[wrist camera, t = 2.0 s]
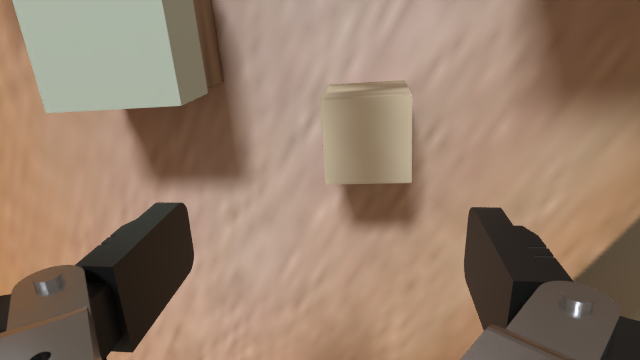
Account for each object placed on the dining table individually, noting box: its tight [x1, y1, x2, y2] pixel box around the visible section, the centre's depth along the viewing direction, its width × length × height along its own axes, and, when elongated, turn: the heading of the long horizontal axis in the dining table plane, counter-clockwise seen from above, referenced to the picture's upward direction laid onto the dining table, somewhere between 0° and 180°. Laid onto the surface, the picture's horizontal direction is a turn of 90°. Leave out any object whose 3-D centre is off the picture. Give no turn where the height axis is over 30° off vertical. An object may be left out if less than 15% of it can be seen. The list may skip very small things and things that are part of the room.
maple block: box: [320, 81, 412, 185], centre depth 27 cm, size 5×5×6 cm
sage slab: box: [12, 0, 208, 113], centre depth 24 cm, size 8×8×4 cm
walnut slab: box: [193, 0, 223, 88], centre depth 28 cm, size 8×8×4 cm
